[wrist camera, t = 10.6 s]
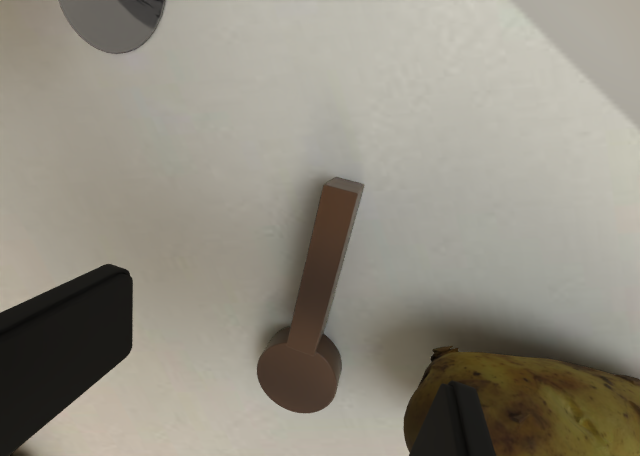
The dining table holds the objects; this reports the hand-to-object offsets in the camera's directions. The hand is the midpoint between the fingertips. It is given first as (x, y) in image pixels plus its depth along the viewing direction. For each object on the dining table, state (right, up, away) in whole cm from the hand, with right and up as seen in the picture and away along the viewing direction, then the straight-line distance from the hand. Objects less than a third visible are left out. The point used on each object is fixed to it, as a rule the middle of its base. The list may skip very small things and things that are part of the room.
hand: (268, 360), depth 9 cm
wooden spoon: (+1, -1, +10) cm, 10 cm away
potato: (+13, -4, +9) cm, 16 cm away
